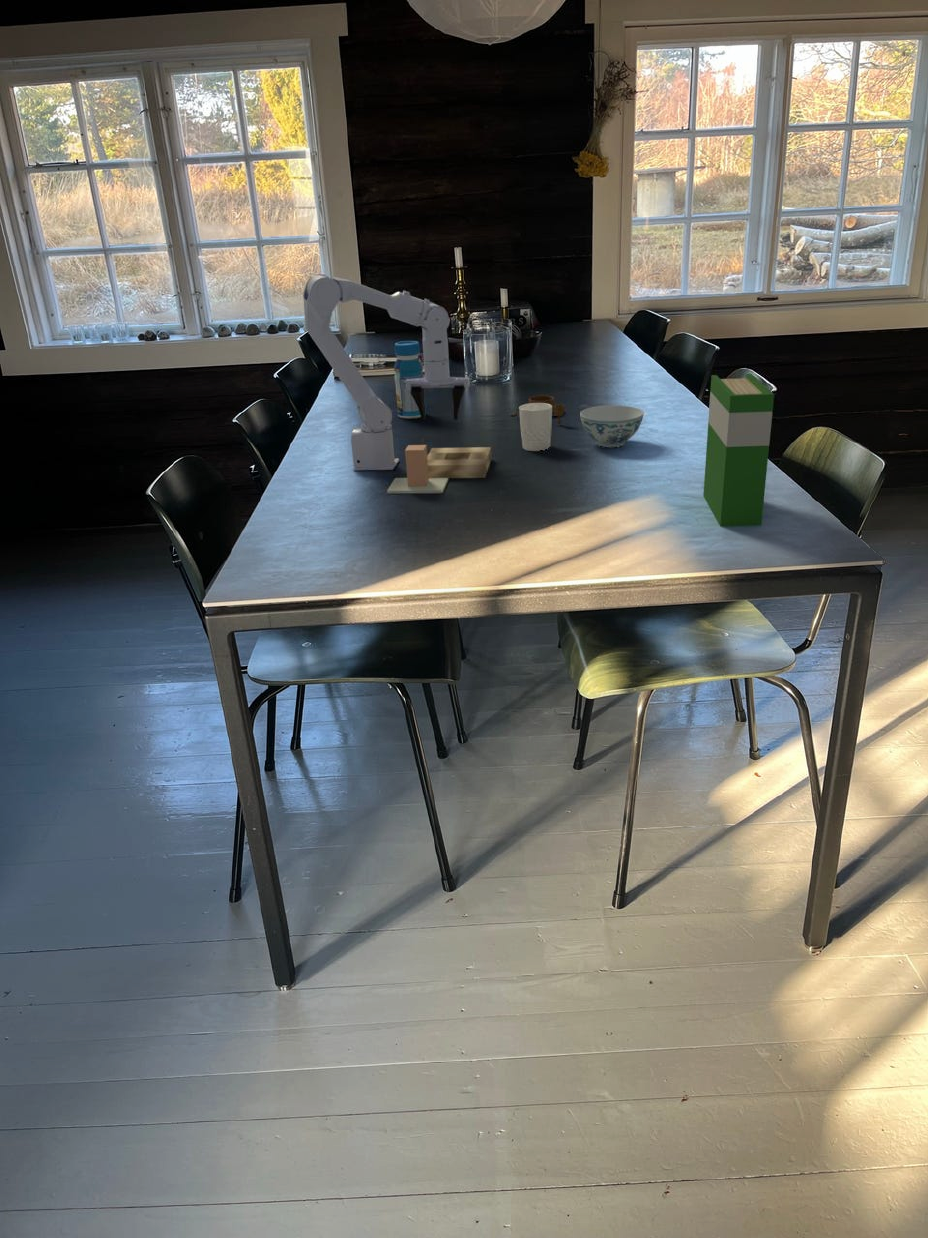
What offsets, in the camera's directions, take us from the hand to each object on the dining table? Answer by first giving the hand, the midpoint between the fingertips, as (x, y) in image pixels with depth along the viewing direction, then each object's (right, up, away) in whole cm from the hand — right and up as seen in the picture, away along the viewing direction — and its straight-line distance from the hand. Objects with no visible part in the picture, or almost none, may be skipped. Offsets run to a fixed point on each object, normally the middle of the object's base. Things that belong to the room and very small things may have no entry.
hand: (439, 418), depth 214 cm
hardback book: (+57, -26, -38) cm, 73 cm away
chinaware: (+41, -5, +8) cm, 42 cm away
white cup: (+23, -5, +8) cm, 25 cm away
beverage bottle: (-9, +11, +44) cm, 47 cm away
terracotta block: (-4, -17, -15) cm, 24 cm away
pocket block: (+4, -12, -5) cm, 14 cm away
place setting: (+26, +8, +36) cm, 45 cm away
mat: (-4, -18, -15) cm, 24 cm away
